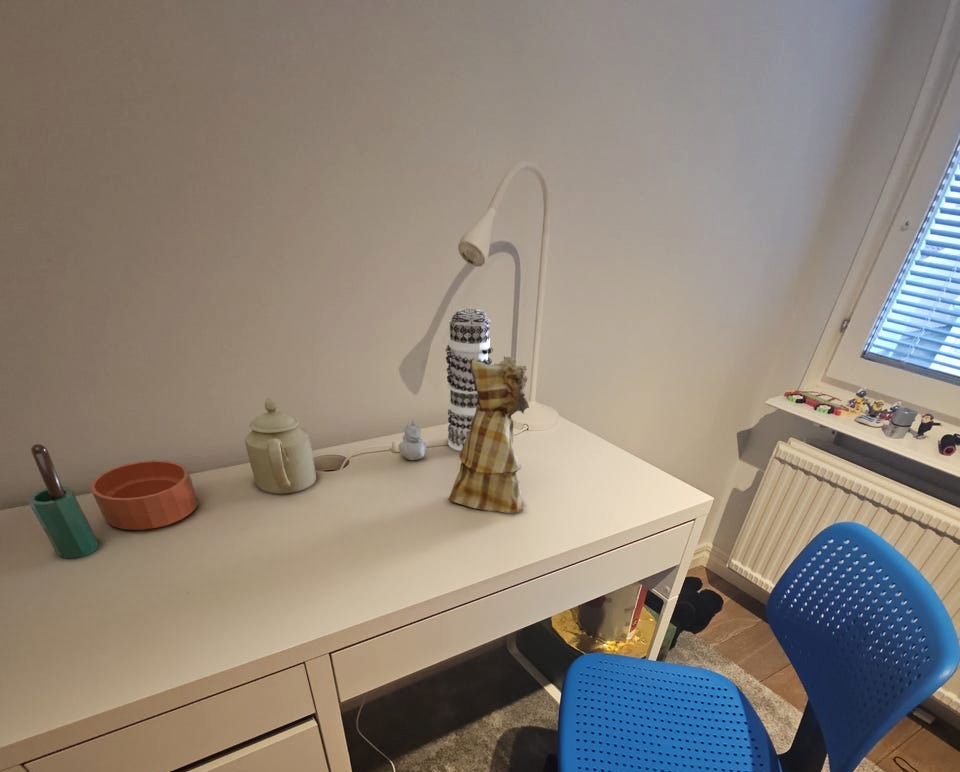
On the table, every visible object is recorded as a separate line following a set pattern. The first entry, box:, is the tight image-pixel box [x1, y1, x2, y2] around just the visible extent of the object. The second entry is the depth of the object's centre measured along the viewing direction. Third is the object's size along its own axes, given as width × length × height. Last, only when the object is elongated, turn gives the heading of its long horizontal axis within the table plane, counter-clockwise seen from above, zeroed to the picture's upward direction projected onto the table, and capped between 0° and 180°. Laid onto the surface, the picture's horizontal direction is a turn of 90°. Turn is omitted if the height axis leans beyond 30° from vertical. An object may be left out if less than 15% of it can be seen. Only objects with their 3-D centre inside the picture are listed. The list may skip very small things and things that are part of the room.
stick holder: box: [27, 486, 99, 560], centre depth 82 cm, size 5×5×9 cm
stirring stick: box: [30, 443, 65, 501], centre depth 80 cm, size 2×2×16 cm
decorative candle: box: [445, 308, 494, 452], centre depth 112 cm, size 9×9×25 cm
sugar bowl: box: [244, 397, 317, 495], centre depth 98 cm, size 15×11×15 cm
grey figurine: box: [398, 419, 427, 461], centre depth 111 cm, size 5×7×8 cm
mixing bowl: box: [89, 459, 199, 531], centre depth 92 cm, size 14×14×6 cm
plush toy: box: [447, 355, 530, 514], centre depth 94 cm, size 14×14×25 cm
